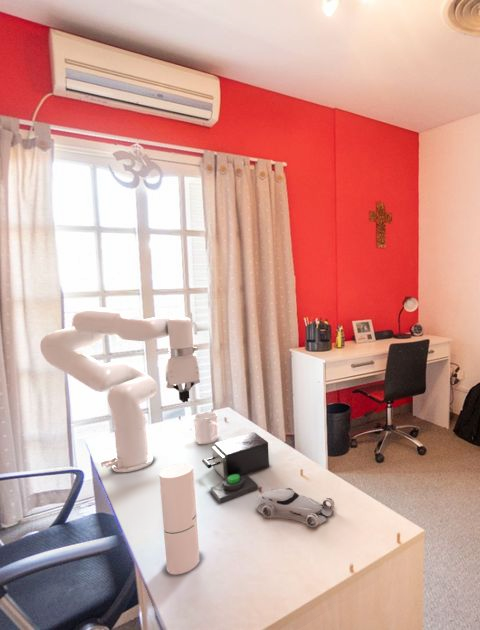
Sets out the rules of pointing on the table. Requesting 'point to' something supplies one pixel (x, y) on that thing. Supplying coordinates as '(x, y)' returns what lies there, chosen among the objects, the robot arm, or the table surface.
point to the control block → (233, 488)
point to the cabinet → (245, 454)
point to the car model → (294, 507)
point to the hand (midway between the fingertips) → (184, 401)
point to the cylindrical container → (179, 518)
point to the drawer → (217, 462)
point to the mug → (206, 427)
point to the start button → (233, 479)
